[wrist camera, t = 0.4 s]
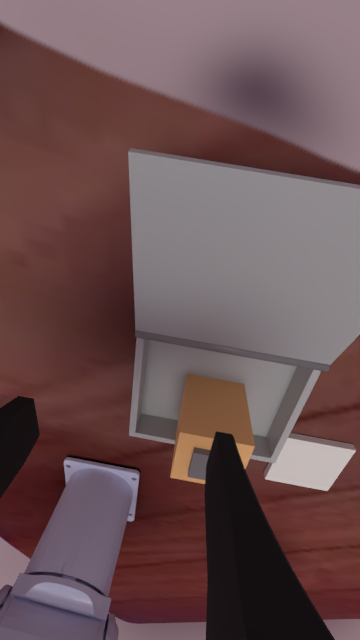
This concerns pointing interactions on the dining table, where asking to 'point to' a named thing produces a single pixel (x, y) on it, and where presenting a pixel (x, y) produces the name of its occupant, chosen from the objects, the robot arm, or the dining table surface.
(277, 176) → the case
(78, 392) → the dining table surface
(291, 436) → the mat
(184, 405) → the block
